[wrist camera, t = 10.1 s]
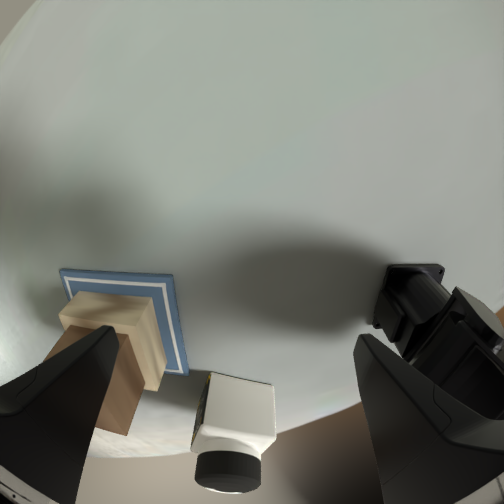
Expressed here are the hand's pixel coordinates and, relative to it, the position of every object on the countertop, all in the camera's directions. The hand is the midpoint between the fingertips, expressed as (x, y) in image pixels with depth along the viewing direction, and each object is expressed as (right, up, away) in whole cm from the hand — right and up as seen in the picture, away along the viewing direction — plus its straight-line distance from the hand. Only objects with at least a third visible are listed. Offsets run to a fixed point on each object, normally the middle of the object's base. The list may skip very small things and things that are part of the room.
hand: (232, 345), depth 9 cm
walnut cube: (-12, -6, +11) cm, 17 cm away
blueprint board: (-12, -4, +15) cm, 20 cm away
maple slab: (-12, -4, +15) cm, 19 cm away
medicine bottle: (-1, -13, +19) cm, 23 cm away
